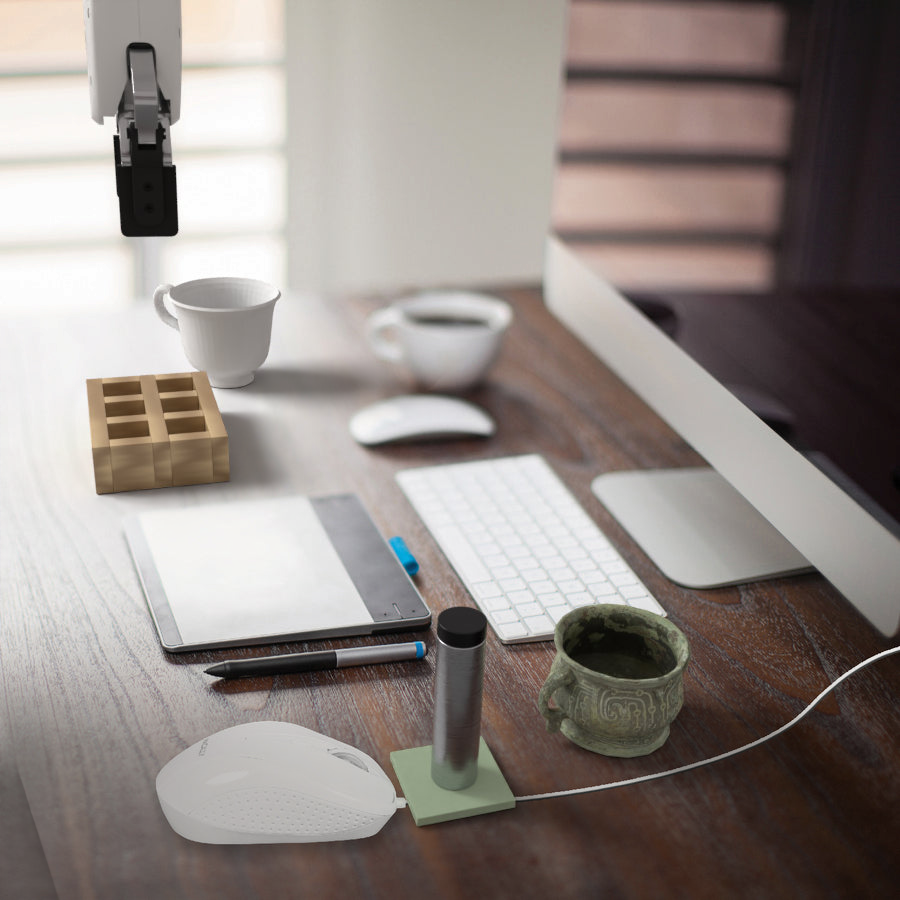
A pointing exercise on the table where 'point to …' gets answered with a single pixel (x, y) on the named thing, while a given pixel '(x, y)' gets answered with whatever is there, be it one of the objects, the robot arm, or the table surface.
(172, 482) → the desk rack
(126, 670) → the table surface
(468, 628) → the steel peg
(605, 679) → the vessel
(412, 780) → the mat
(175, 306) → the teacup
